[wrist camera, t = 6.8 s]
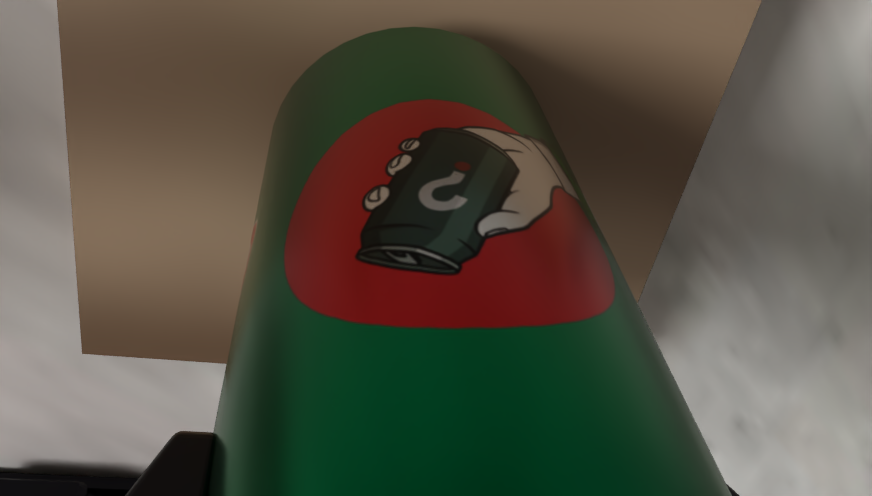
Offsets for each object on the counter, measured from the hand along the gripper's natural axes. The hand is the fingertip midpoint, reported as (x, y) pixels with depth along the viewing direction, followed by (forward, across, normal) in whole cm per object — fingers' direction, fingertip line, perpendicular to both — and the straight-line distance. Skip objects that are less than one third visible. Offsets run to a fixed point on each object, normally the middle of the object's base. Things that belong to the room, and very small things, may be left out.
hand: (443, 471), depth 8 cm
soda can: (+8, 0, 0) cm, 8 cm away
